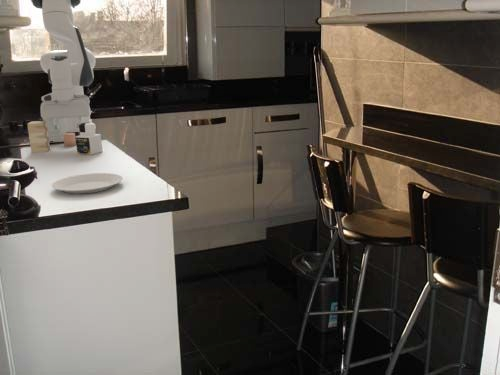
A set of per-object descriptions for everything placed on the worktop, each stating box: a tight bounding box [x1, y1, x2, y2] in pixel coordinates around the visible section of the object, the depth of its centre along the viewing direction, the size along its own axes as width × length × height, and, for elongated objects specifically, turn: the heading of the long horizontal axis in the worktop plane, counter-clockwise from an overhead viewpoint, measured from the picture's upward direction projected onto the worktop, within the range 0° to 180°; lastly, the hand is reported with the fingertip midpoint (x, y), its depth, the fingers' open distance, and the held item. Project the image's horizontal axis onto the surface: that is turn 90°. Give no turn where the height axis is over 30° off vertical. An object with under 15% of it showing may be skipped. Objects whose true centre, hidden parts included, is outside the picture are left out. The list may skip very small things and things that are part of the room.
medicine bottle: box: [75, 121, 103, 156], centre depth 232 cm, size 7×7×12 cm
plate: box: [51, 172, 124, 195], centre depth 179 cm, size 21×21×2 cm
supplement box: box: [42, 118, 68, 143], centre depth 264 cm, size 7×7×13 cm
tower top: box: [26, 120, 47, 135], centre depth 240 cm, size 6×6×4 cm
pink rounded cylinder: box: [63, 132, 76, 148], centre depth 252 cm, size 5×5×5 cm
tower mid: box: [28, 130, 49, 144], centre depth 241 cm, size 6×6×4 cm
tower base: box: [29, 140, 51, 154], centre depth 242 cm, size 6×6×4 cm
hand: (67, 128), depth 250 cm, fingers open, 8 cm apart
